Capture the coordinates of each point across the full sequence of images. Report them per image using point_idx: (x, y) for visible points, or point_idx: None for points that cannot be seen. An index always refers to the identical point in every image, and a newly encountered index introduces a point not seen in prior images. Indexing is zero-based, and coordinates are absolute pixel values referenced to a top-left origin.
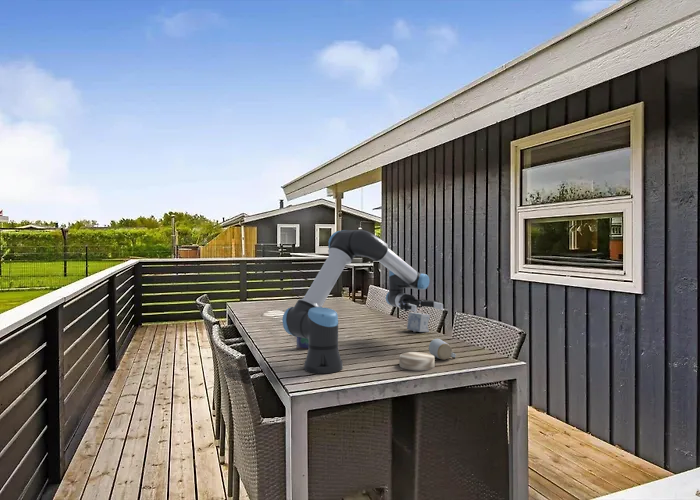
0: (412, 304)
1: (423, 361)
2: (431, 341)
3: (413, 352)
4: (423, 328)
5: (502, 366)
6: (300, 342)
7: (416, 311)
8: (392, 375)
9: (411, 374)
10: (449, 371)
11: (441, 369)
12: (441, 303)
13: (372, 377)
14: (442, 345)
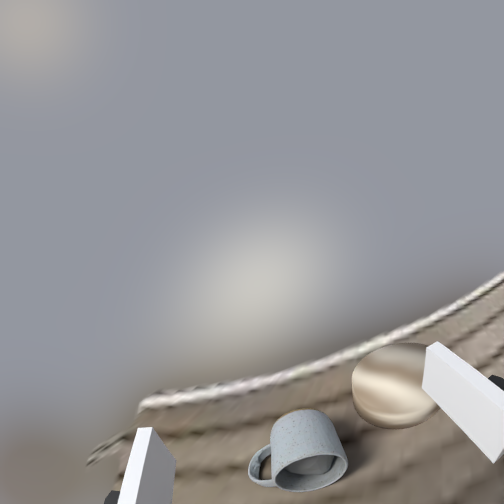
0: (474, 385)
1: (385, 348)
2: (335, 451)
3: (413, 404)
4: None
5: (193, 391)
6: None
7: (423, 385)
8: (444, 329)
9: (410, 340)
10: (327, 365)
11: (341, 374)
12: (139, 439)
13: (472, 315)
14: (308, 408)
